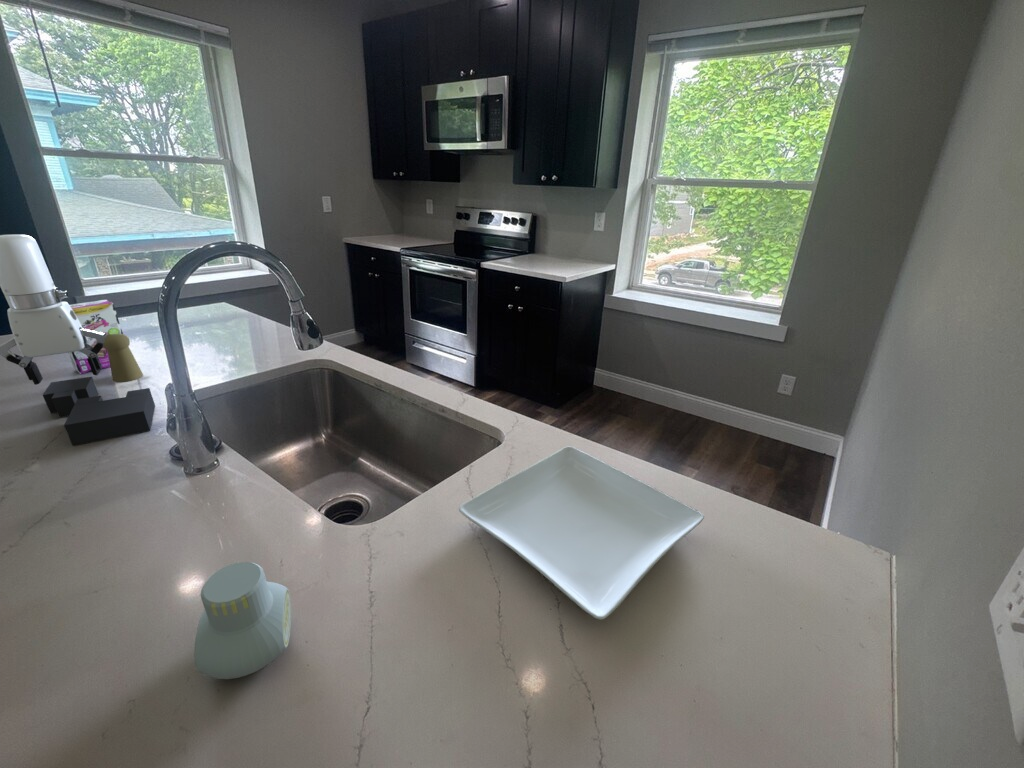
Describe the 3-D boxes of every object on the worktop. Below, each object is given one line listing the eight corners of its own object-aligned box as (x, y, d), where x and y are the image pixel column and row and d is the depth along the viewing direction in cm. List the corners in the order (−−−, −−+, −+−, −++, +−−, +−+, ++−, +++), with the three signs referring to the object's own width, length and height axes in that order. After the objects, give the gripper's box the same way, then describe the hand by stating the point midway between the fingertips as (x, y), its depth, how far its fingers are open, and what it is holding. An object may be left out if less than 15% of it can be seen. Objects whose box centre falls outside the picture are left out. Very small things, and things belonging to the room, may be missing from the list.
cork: (140, 370, 120) (127, 329, 115) (145, 377, 116) (131, 335, 111) (110, 376, 116) (95, 334, 111) (114, 384, 112) (98, 341, 107)
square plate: (703, 532, 72) (708, 512, 71) (597, 643, 55) (601, 620, 53) (568, 458, 90) (569, 440, 88) (455, 524, 72) (455, 504, 71)
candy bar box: (80, 375, 116) (55, 311, 109) (74, 369, 119) (49, 307, 112) (133, 362, 124) (113, 301, 118) (126, 357, 127) (106, 298, 120)
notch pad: (72, 445, 88) (63, 425, 86) (85, 418, 97) (77, 399, 95) (150, 430, 94) (143, 411, 92) (155, 406, 103) (149, 387, 101)
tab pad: (47, 419, 96) (38, 400, 94) (58, 400, 104) (50, 382, 102) (90, 412, 100) (83, 393, 98) (98, 394, 107) (92, 376, 105)
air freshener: (288, 678, 50) (270, 613, 46) (199, 704, 47) (171, 637, 43) (294, 597, 59) (280, 537, 55) (220, 614, 57) (199, 553, 52)
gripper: (93, 290, 100) (121, 363, 107) (-19, 300, 92) (20, 379, 99) (86, 298, 94) (116, 375, 102) (-34, 310, 86) (8, 393, 94)
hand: (68, 377), depth 101 cm, fingers open, 9 cm apart
